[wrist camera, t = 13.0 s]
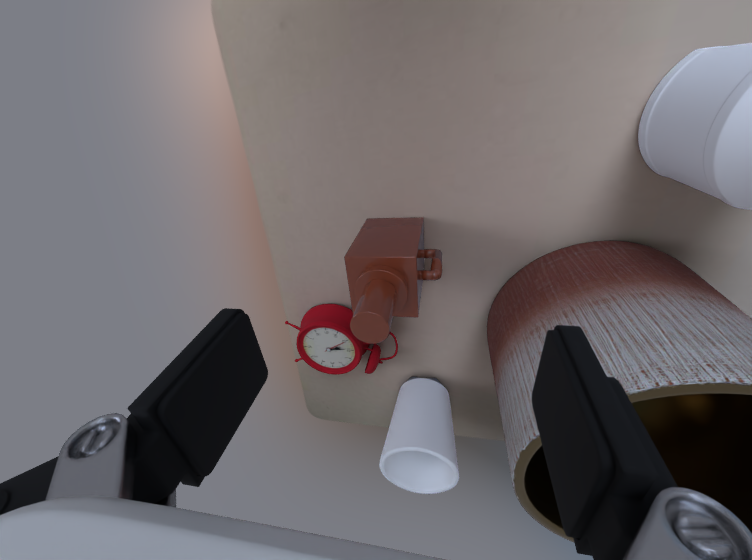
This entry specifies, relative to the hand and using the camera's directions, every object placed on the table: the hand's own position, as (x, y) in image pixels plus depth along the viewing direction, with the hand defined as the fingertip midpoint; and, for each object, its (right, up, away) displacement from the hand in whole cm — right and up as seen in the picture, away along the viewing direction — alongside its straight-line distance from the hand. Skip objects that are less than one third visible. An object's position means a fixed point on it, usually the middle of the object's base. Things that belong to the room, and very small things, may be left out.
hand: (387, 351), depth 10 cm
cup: (+7, -15, +41) cm, 44 cm away
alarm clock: (-5, -5, +38) cm, 38 cm away
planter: (+24, -2, +30) cm, 38 cm away
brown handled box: (+3, +7, +29) cm, 30 cm away
